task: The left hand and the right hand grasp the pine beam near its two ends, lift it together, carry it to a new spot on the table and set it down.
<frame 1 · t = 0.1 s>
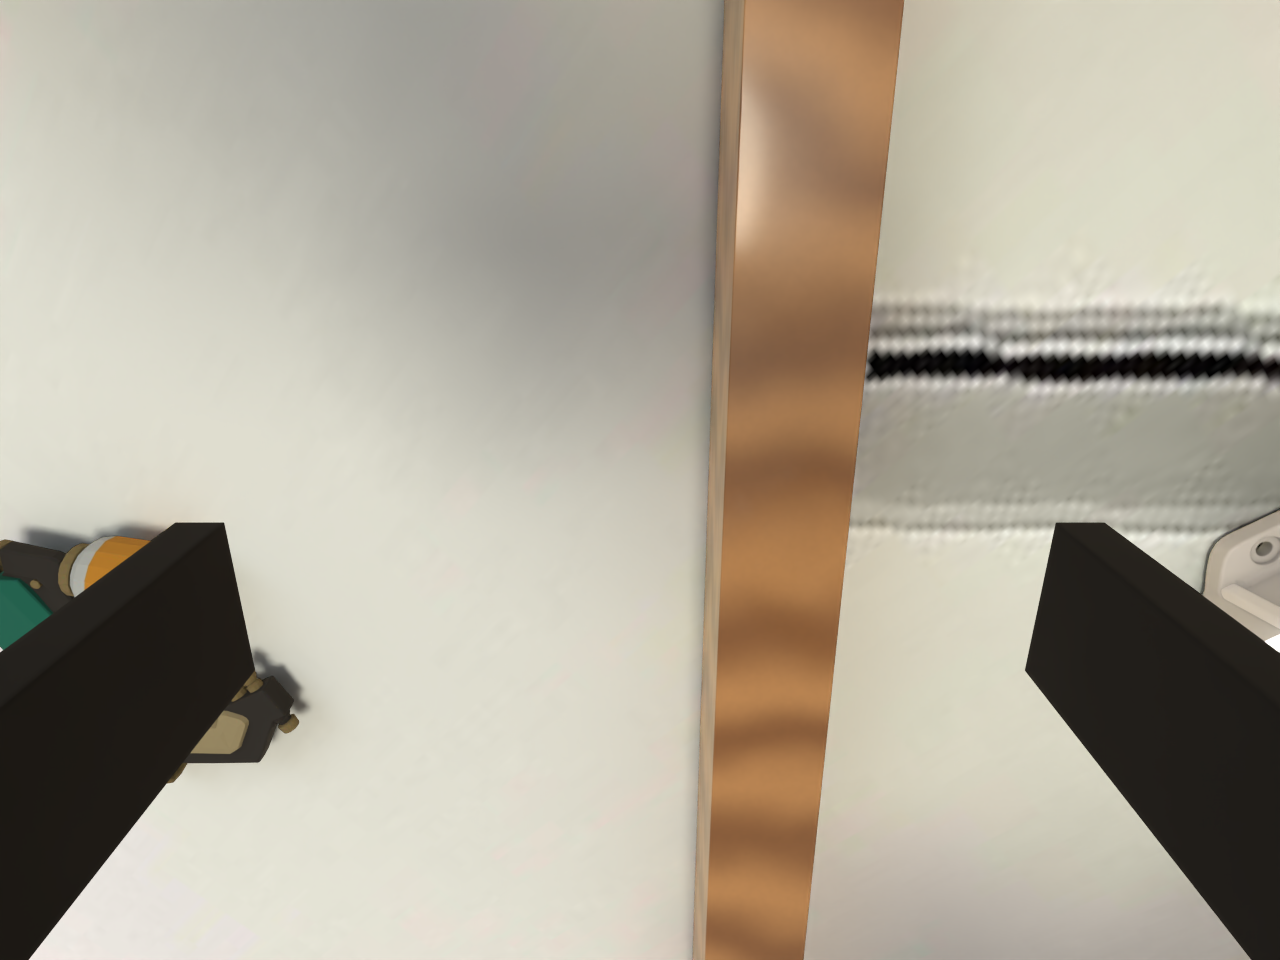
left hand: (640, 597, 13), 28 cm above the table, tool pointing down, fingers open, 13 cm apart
spray gun: (152, 642, 45), on the table
beam: (756, 557, 43), on the table
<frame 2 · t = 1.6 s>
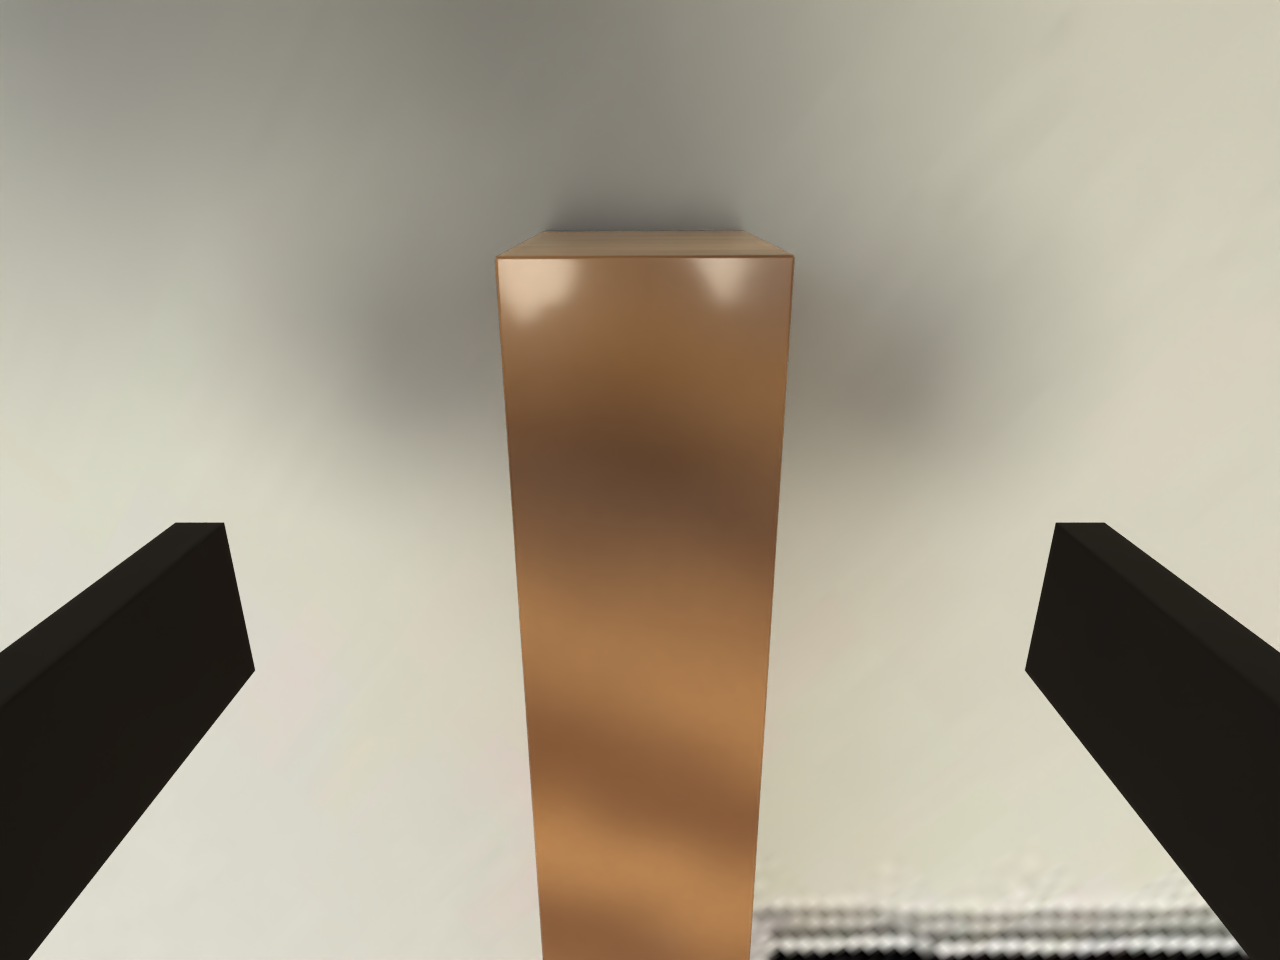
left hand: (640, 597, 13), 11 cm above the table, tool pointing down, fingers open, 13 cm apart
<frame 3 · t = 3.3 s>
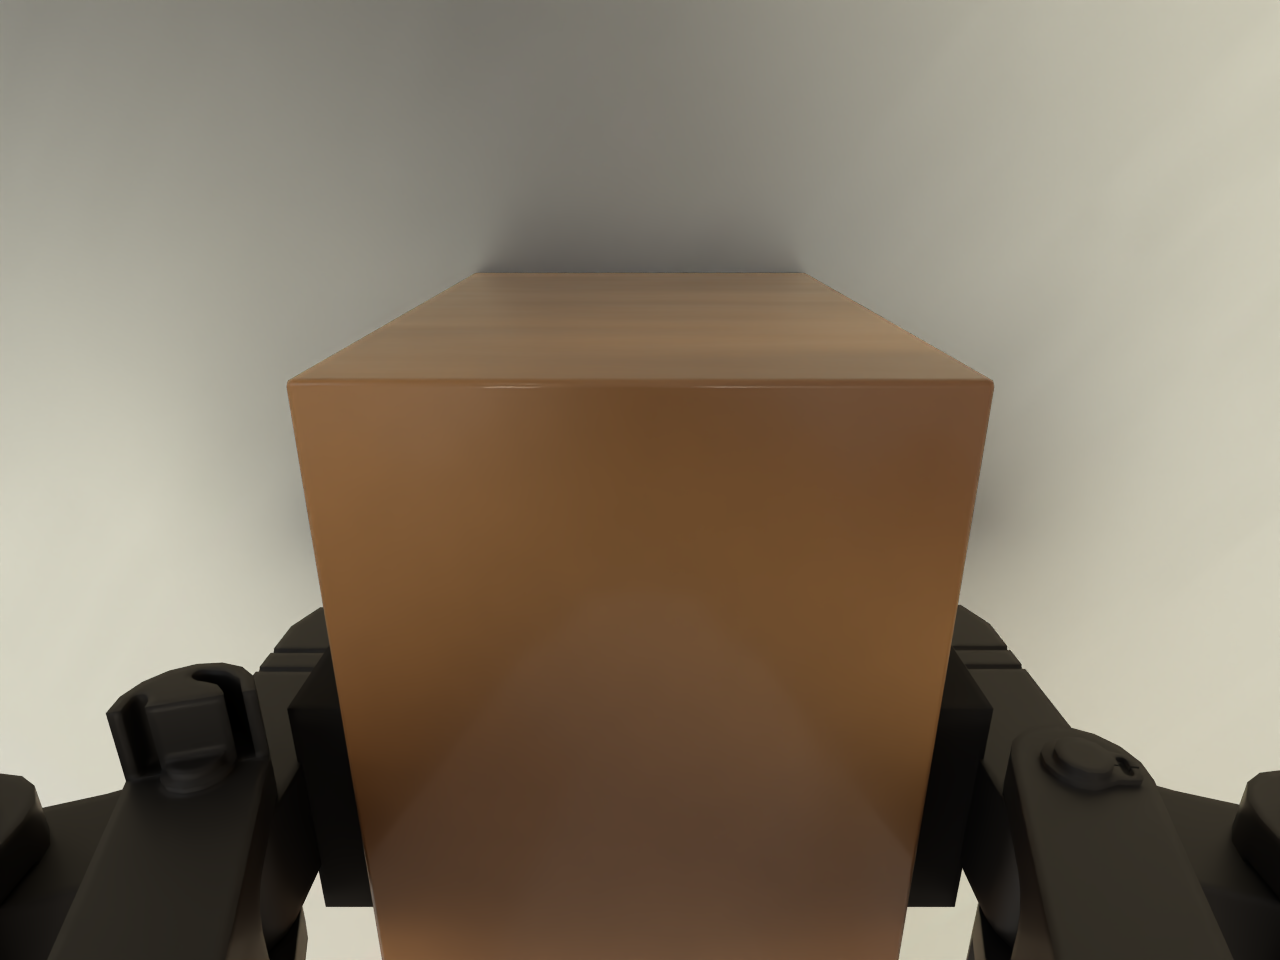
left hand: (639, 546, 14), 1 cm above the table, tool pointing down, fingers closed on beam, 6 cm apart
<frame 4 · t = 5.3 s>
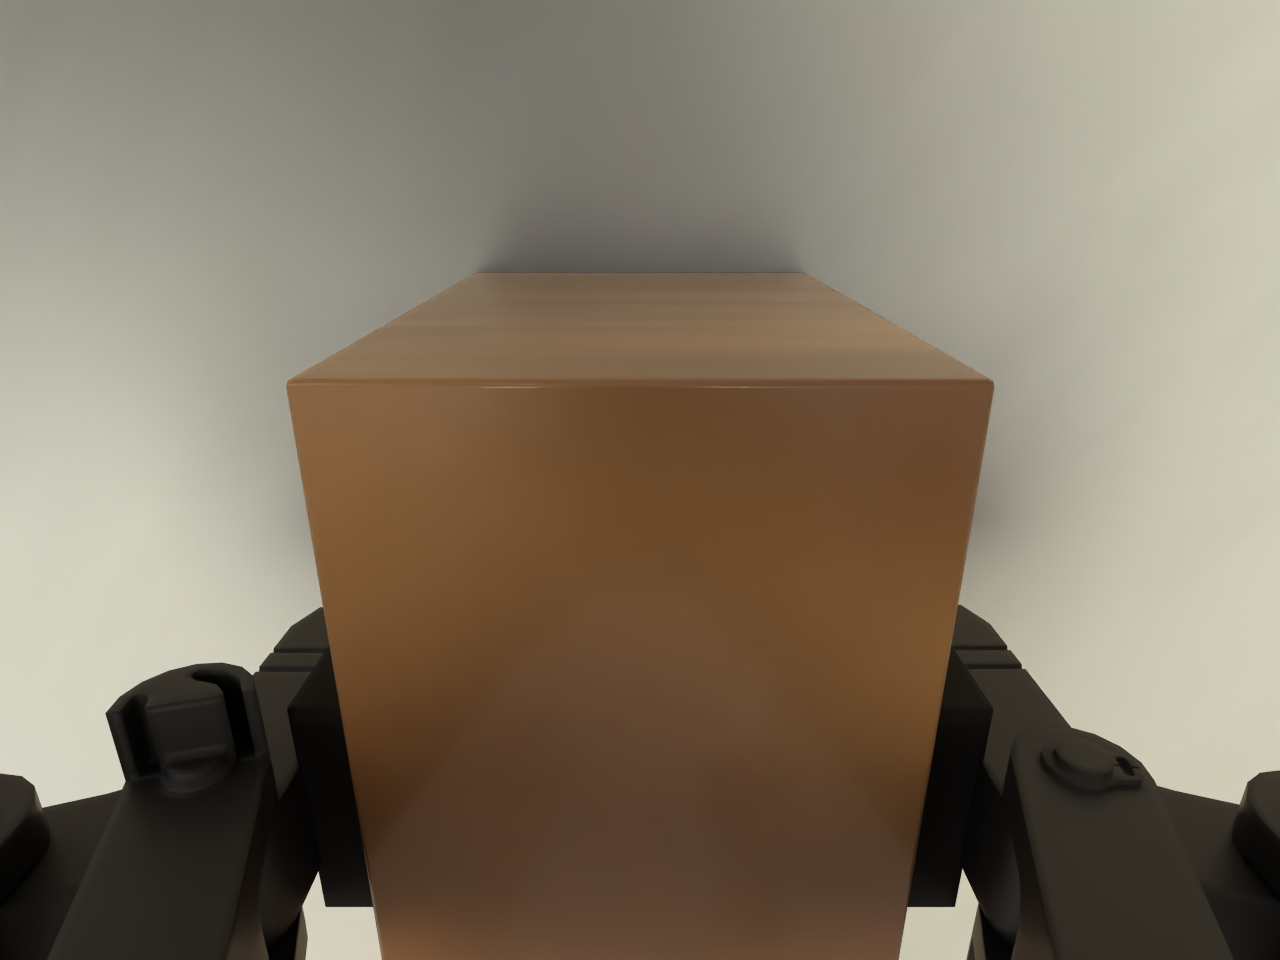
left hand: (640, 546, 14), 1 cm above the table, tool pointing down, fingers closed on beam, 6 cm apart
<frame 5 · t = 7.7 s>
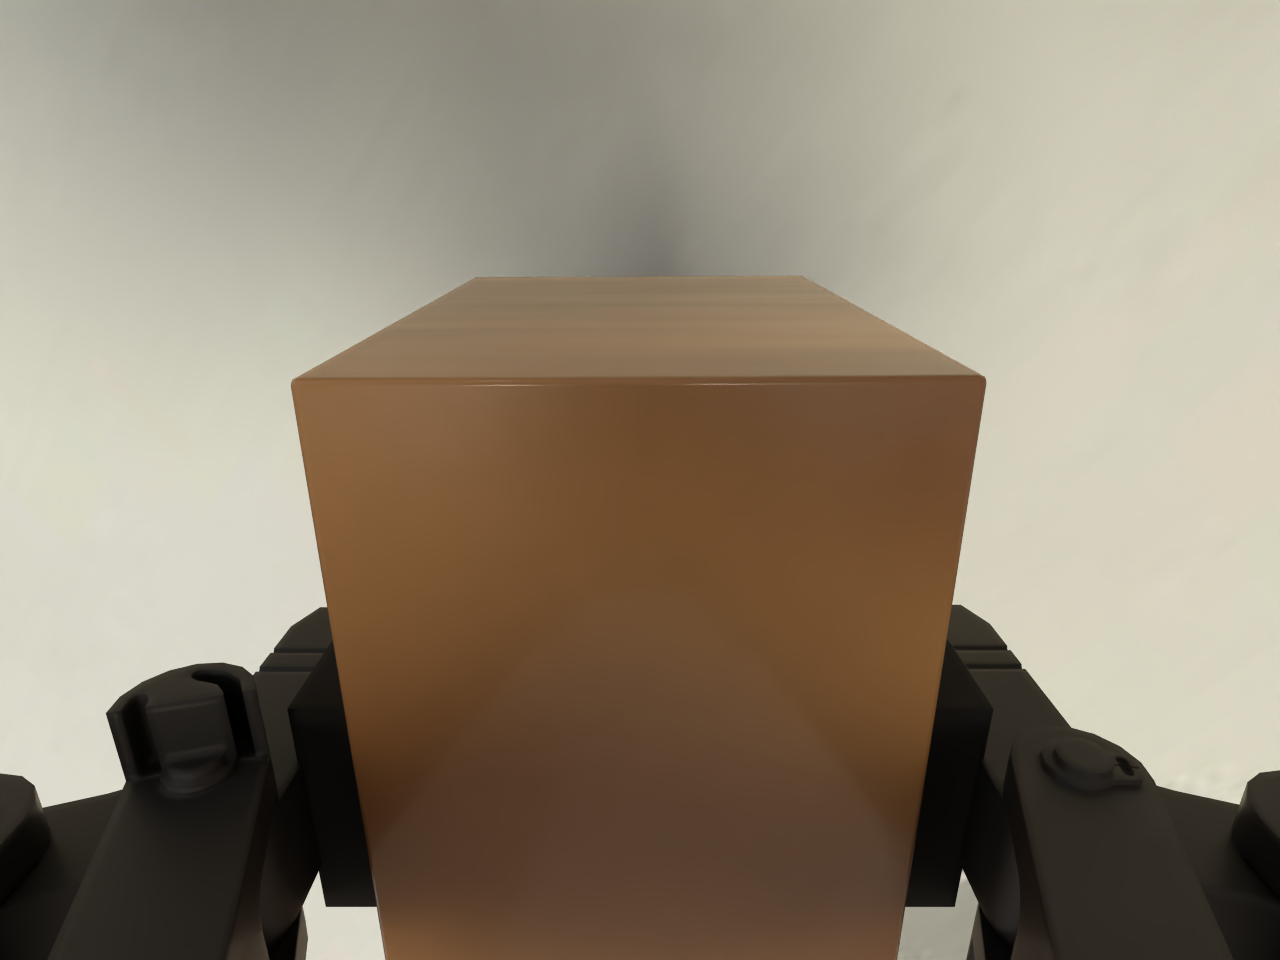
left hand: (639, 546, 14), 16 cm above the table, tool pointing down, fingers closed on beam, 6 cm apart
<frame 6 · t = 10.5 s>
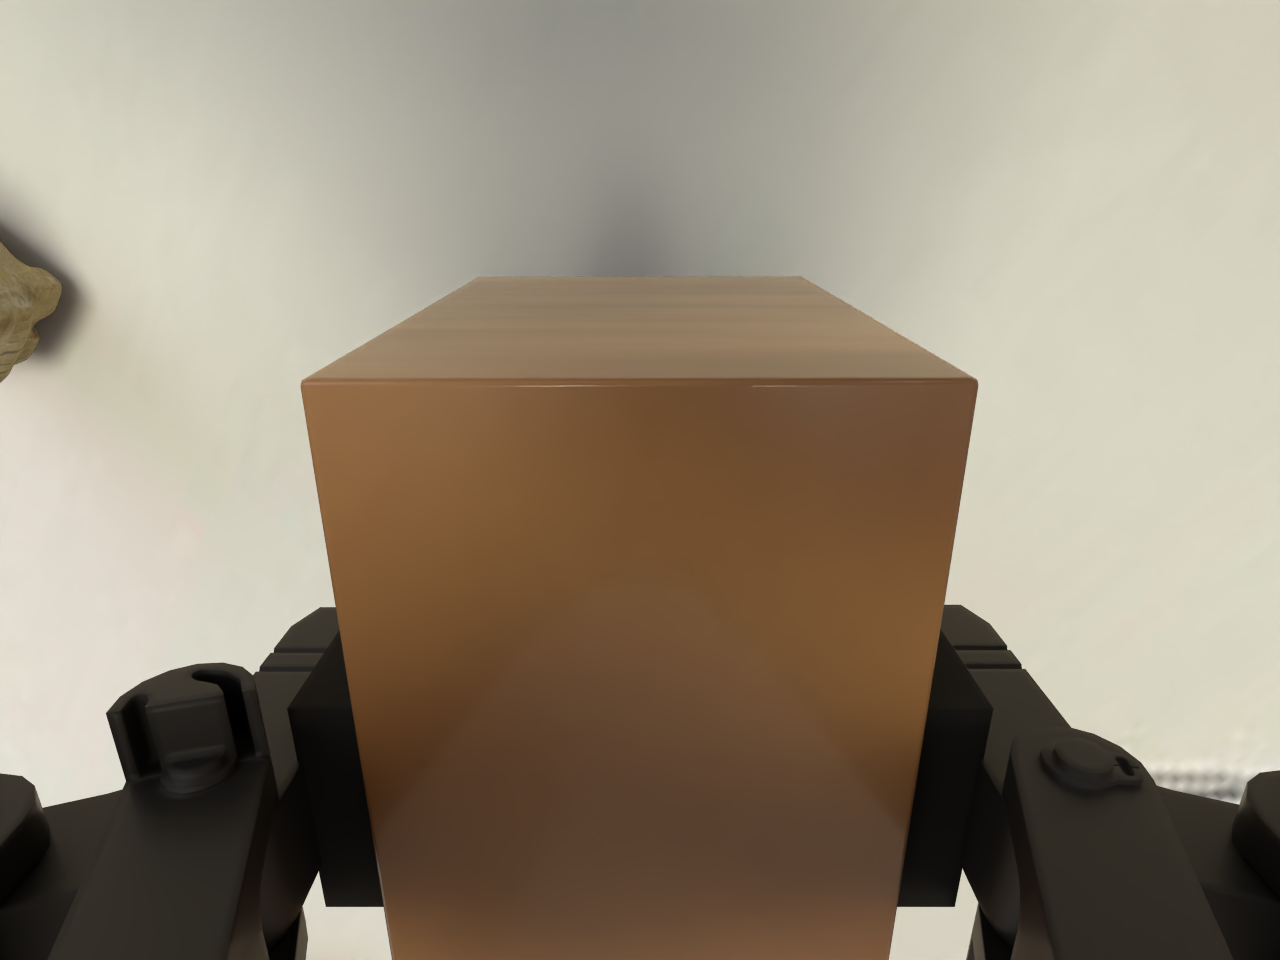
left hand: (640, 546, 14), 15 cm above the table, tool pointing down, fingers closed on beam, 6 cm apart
when the left hand's fingers open (2 cm above the table, at t = 12.3 s): beam drops 1 cm, on the table.
when the right hand's fingers open (4 cm above the table, at t = 12.5 s): beam stays where it is, on the table.
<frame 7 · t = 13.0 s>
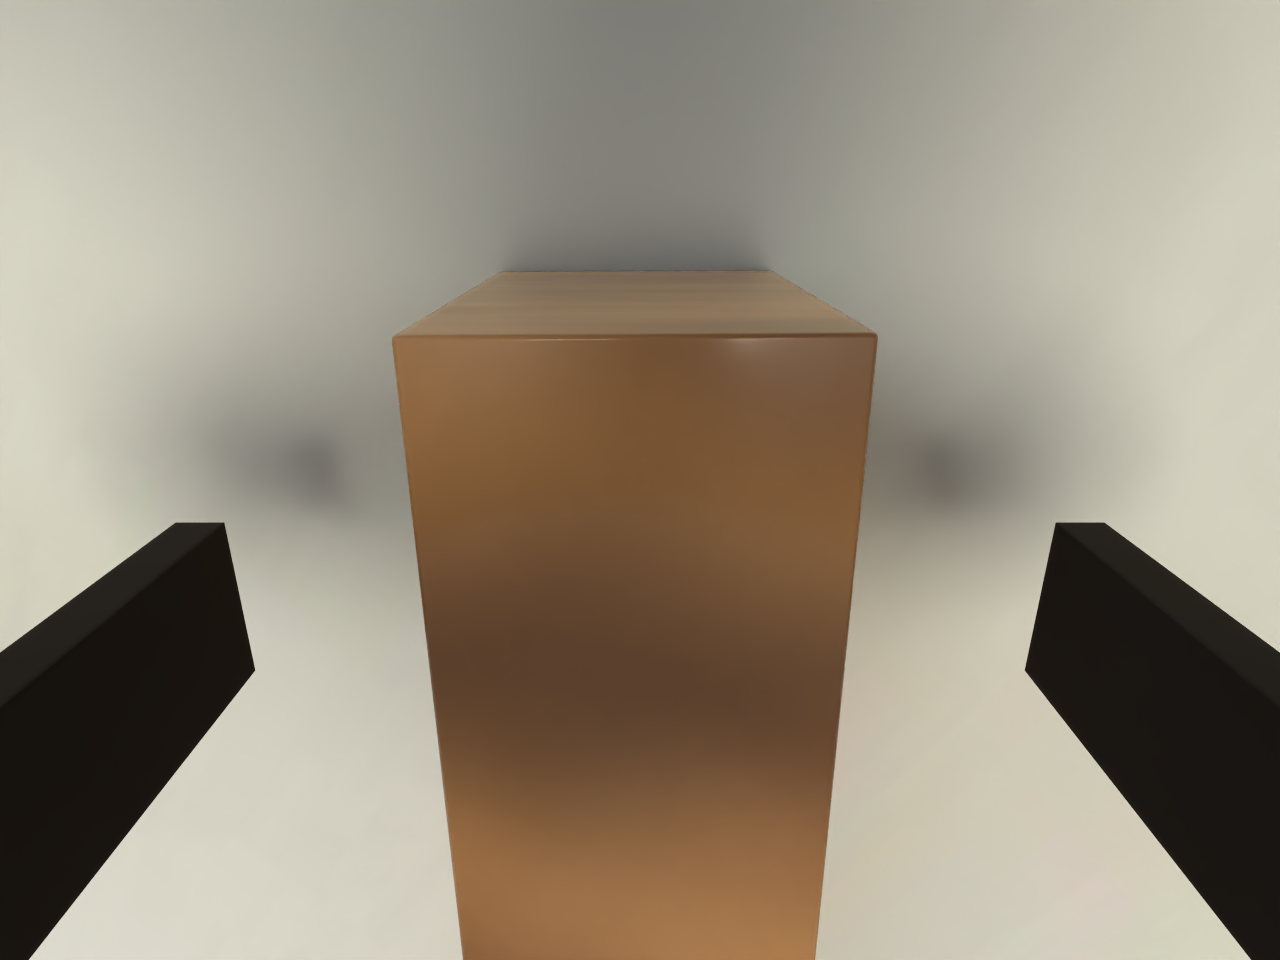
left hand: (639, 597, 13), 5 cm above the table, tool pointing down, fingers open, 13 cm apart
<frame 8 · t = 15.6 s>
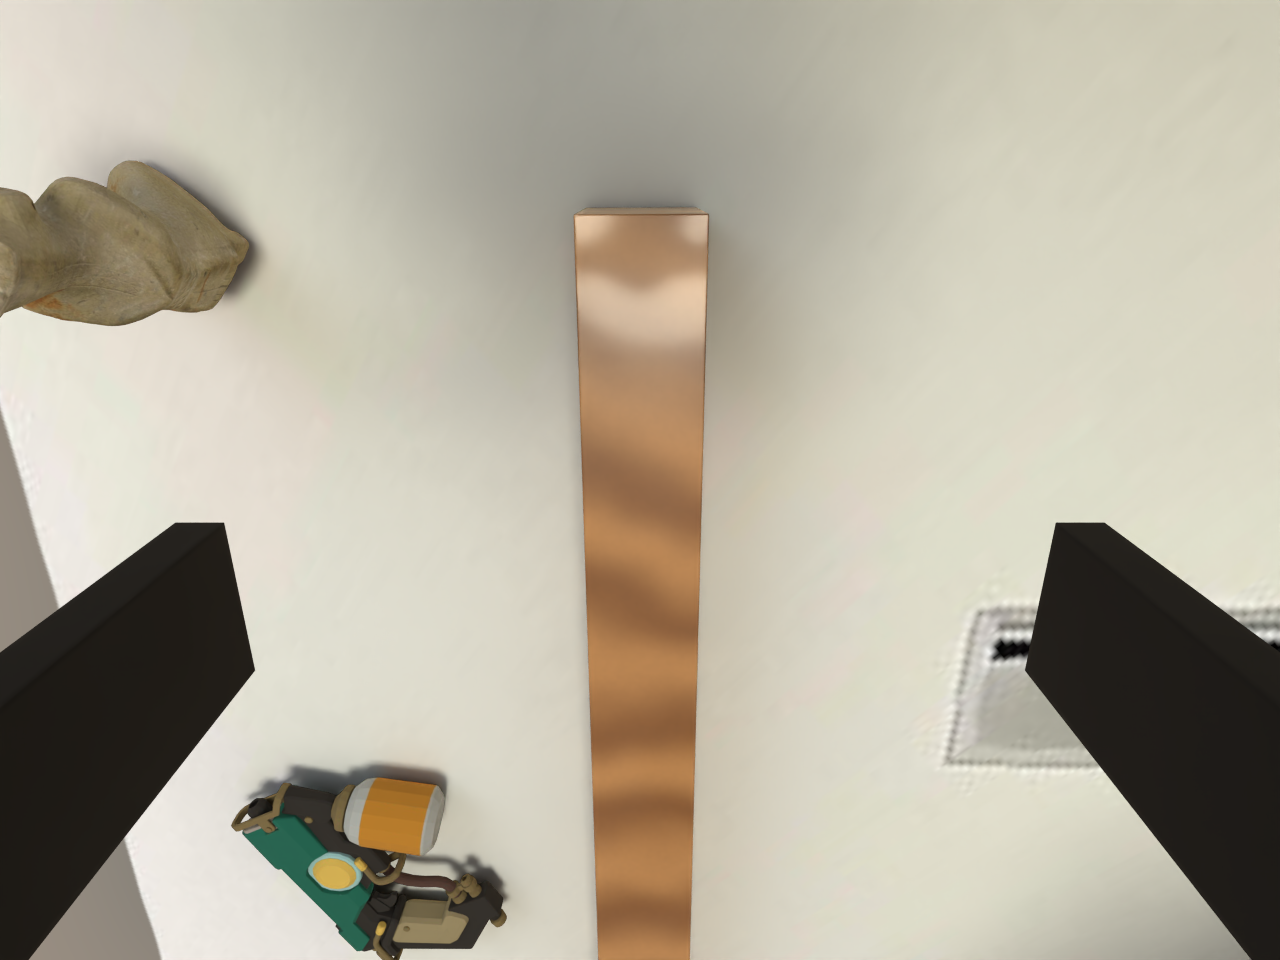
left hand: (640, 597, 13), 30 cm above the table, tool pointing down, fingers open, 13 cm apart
spray gun: (384, 850, 55), on the table
beam: (643, 815, 53), on the table
sculpture: (192, 235, 40), on the table
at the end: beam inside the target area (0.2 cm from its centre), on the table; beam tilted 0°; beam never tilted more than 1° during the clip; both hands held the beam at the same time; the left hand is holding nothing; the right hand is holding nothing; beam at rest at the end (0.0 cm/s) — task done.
